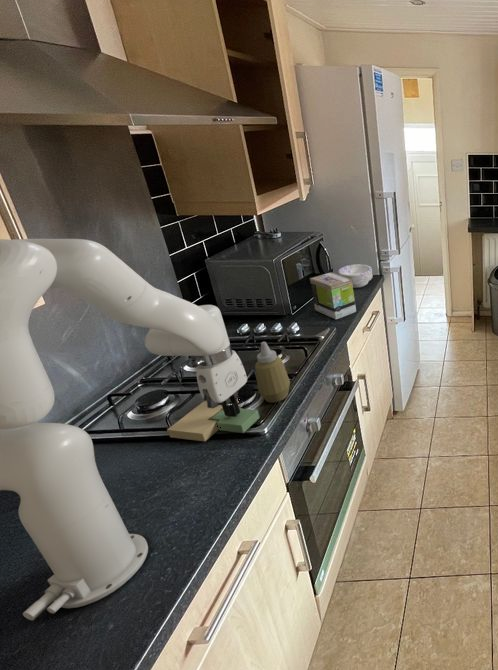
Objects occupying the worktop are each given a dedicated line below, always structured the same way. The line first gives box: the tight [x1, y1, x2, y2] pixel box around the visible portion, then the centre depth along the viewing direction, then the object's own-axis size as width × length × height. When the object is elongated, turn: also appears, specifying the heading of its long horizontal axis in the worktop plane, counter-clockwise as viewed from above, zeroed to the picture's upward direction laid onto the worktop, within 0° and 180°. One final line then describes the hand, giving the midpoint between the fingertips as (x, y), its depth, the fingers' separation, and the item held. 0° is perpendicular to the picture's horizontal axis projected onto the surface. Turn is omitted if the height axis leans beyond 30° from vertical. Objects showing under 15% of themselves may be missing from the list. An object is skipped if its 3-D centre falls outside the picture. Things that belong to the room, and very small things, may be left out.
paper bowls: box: [337, 263, 374, 289], centre depth 199 cm, size 15×15×8 cm
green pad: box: [212, 408, 261, 434], centre depth 109 cm, size 6×10×2 cm, turn 82°
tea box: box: [309, 271, 357, 320], centre depth 170 cm, size 15×10×15 cm, turn 54°
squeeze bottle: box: [254, 341, 291, 404], centre depth 117 cm, size 8×8×18 cm
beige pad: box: [166, 399, 244, 442], centre depth 110 cm, size 14×10×2 cm
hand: (232, 414), depth 109 cm, fingers closed
